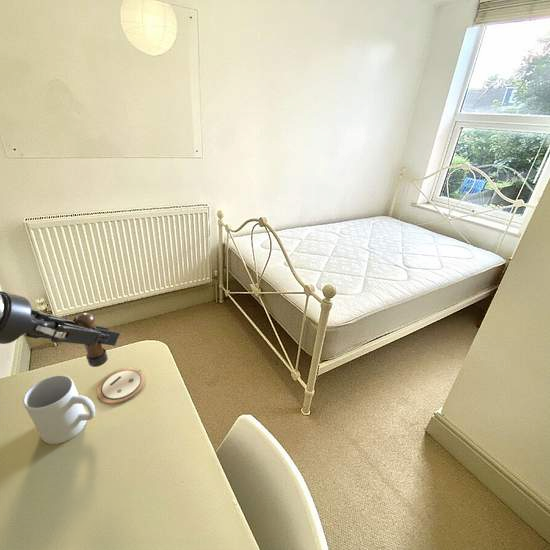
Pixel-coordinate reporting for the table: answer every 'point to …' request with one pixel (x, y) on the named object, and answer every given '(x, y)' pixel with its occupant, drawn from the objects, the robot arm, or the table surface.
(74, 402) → the mug
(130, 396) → the face mat
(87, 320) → the stamp
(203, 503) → the table surface
